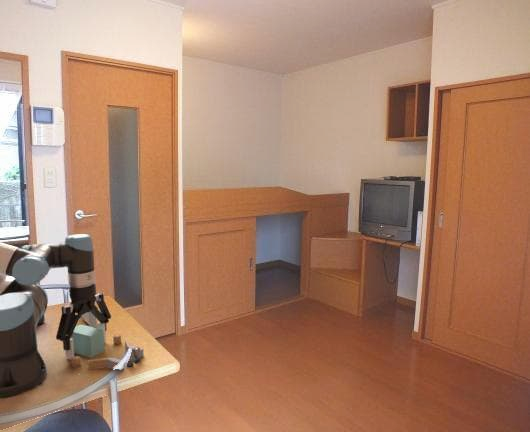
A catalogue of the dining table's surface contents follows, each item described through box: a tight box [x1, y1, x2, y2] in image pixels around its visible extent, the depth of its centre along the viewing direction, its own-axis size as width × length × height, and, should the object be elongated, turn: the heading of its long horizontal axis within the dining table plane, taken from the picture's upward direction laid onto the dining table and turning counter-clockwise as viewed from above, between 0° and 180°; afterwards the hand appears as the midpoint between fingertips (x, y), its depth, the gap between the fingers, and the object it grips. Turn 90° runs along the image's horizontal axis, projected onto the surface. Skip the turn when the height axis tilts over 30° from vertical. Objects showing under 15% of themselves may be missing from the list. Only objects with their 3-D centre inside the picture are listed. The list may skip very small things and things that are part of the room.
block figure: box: [71, 334, 145, 370], centre depth 120 cm, size 18×15×2 cm
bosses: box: [125, 346, 142, 369], centre depth 117 cm, size 5×2×4 cm, turn 155°
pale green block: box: [71, 324, 105, 358], centre depth 125 cm, size 5×10×7 cm, turn 65°
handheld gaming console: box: [81, 302, 98, 328], centre depth 147 cm, size 11×3×15 cm
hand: (86, 350), depth 125 cm, fingers open, 12 cm apart
